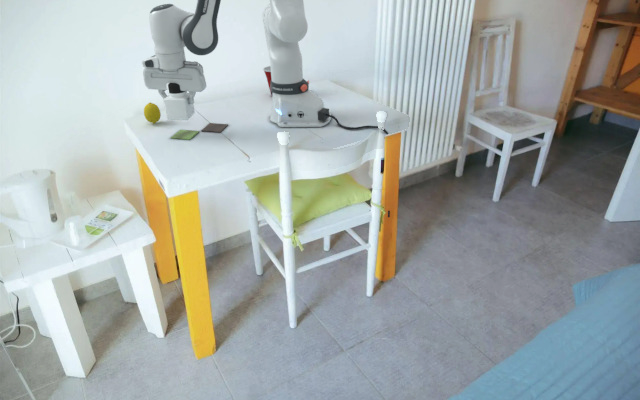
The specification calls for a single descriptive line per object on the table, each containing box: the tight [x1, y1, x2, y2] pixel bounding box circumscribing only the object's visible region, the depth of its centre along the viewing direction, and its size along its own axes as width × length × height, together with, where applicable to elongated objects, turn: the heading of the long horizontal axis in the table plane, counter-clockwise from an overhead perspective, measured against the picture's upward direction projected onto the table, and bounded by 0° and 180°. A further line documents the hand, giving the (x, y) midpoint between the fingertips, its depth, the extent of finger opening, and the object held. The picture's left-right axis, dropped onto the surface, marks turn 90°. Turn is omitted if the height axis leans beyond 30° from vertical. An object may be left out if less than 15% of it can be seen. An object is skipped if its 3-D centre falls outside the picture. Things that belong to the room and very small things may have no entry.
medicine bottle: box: [163, 83, 196, 121], centre depth 152 cm, size 7×7×12 cm
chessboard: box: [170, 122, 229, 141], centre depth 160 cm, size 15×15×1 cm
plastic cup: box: [262, 65, 272, 93], centre depth 189 cm, size 11×11×12 cm
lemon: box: [143, 102, 162, 125], centre depth 166 cm, size 6×6×8 cm
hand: (179, 103), depth 152 cm, fingers closed on medicine bottle, 7 cm apart
